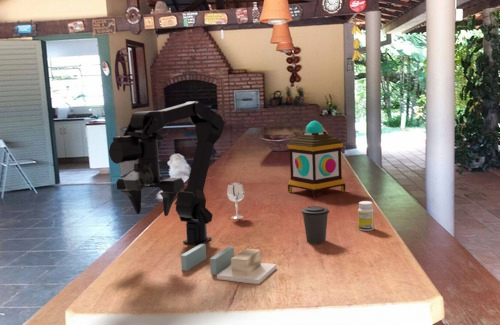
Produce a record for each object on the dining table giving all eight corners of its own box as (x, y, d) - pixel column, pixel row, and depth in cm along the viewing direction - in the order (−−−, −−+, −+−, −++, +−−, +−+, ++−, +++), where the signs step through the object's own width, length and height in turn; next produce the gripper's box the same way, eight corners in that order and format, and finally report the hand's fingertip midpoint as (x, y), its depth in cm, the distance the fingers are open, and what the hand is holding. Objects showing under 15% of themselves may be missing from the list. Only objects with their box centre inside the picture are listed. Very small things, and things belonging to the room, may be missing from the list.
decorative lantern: (350, 191, 217) (349, 119, 213) (314, 199, 206) (311, 123, 202) (318, 185, 234) (316, 118, 229) (283, 192, 223) (280, 121, 218)
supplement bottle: (364, 226, 165) (363, 200, 164) (377, 228, 162) (376, 201, 160) (355, 229, 162) (354, 203, 160) (368, 232, 158) (368, 205, 157)
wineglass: (225, 218, 184) (223, 184, 182) (237, 214, 188) (235, 181, 186) (237, 220, 180) (235, 186, 178) (248, 216, 184) (247, 183, 182)
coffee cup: (301, 237, 156) (300, 204, 155) (328, 236, 156) (327, 203, 154) (303, 245, 148) (301, 211, 147) (331, 244, 148) (330, 210, 146)
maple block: (246, 263, 133) (245, 248, 132) (260, 265, 131) (260, 249, 130) (231, 274, 126) (231, 258, 125) (246, 276, 124) (246, 260, 123)
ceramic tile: (237, 264, 136) (237, 260, 136) (276, 268, 131) (276, 264, 131) (216, 278, 126) (216, 274, 126) (258, 284, 121) (258, 280, 121)
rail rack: (201, 258, 142) (200, 243, 141) (234, 261, 138) (233, 246, 137) (181, 270, 133) (180, 255, 132) (216, 274, 129) (215, 259, 128)
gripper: (100, 162, 137) (105, 220, 140) (159, 163, 130) (164, 224, 132) (127, 156, 147) (131, 210, 150) (183, 157, 139) (187, 214, 142)
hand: (152, 214), depth 143 cm, fingers open, 9 cm apart
